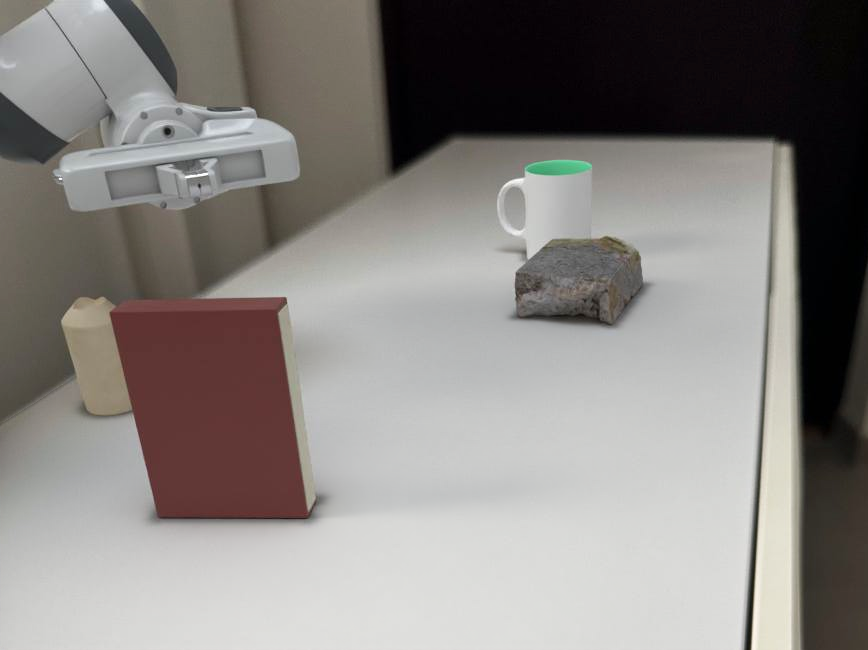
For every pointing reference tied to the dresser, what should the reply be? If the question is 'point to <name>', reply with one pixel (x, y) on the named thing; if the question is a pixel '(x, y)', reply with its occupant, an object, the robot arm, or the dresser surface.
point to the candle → (96, 356)
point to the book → (217, 406)
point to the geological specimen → (579, 278)
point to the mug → (552, 203)
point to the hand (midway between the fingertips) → (199, 185)
